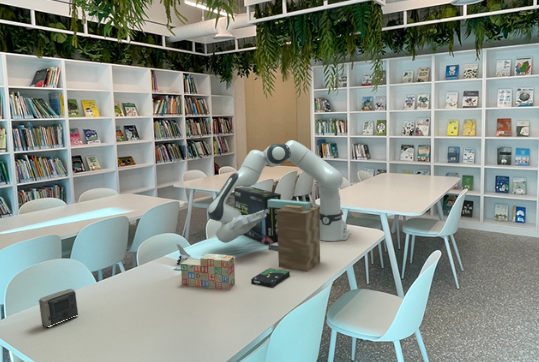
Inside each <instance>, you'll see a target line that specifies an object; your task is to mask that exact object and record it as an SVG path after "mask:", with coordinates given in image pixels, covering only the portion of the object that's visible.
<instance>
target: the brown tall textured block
mask: <svg viewBox="0 0 539 362" xmlns="http://www.w3.org/2000/svg"><path fill="white" fill-rule="evenodd" d="M309 202H310V209H309V210H303V206H292V205H286V206H283V208H281V209H279V210H276V212H277V225H278V251H277V257H278V258H277V259H278V268H284V269H290V270H295V271H299V272H300V271H301V272H308V271H310V270H312V268H315V266H317V265H318V264H320V263H321V240H320V216H319V213H320V206H314V201H312V202H311V201H309Z"/></svg>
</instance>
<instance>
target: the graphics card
mask: <svg viewBox="0 0 539 362" xmlns="http://www.w3.org/2000/svg"><path fill="white" fill-rule="evenodd" d="M268 251H275V252H278V242H277V243H273V244H268Z"/></svg>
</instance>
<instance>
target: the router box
mask: <svg viewBox="0 0 539 362" xmlns="http://www.w3.org/2000/svg"><path fill="white" fill-rule="evenodd" d="M233 194H234V196H233V200H234V201H233V202H234V206H233V207H234V208H236V209H238V210H240V212H241V214H242V215H249V214H254V213H257V212H259V211H262V210H266V209H267V210H268V213H267V214H266V215H267V216H266V217H265V218H264V219H263V220H261V221H260V222H258V223H257V224H256V226H254V227H253V228H251V229H250V230H249V231H248V232H246V233H244V234H243V236H245V237H248V238H250V239H252V240H254V241H256V242H259V243H260V244H263V245H265V246H267V245H271V244H273V243H277V242H278V225H277V212H276V210H279V209H281V208H275V207H268V200H270V199H279V200H282V199H281V197H282V194H281V193H277V192H272V191H269V190H267V189H266V190H265V189H261V188H257V187H253V186H249V187H242V186H240V187H236V188H235V189H234V190H233Z"/></svg>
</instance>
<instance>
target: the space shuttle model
mask: <svg viewBox="0 0 539 362" xmlns="http://www.w3.org/2000/svg"><path fill="white" fill-rule="evenodd" d="M176 246H177V249H178V252H179V254H180V255H179V256H178V259H177V262H176V264H177V266H176V267H174V269H175V271H181V263H183V262H184V261H185V260H187V259H193V260H200V258H199V257H198V258H197V257H192V256H191V255H190V254H188V253H187V252H186V250H185V249H184V248H183V246H181V245H180V244H176Z"/></svg>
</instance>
